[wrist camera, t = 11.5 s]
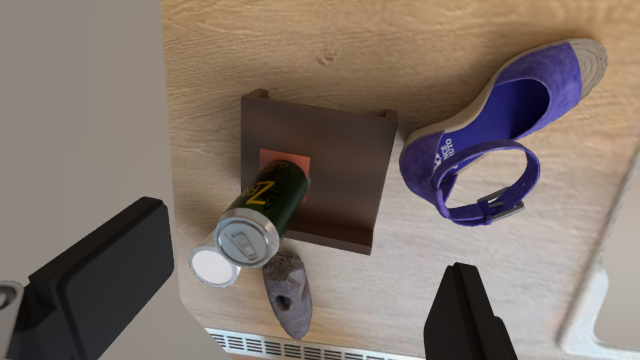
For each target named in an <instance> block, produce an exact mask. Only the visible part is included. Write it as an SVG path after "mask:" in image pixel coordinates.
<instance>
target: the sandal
mask: <svg viewBox="0 0 640 360" xmlns="http://www.w3.org/2000/svg"><path fill="white" fill-rule="evenodd" d="M607 66H608V55H607V51H606V49H605V47H604V46H603V45H602V44H601V43H599V42H597V41H596V40H592V39H588V38H572V39H564V40H559V41H555V42H551V43H547V44H544V45H541V46H537V47H534V48H531V49H529V50H527V51H524V52H522V53H520V54H517V55H516V56H514V57H512V58H511V59H509V60H508V61H507V62H505V63H504V64H503V65H502V66H501V67H500V68H499V69H498V70H497V72H496V73H495V74H494V75H493V76H492V77H491V79H490V80H489V81H488V82H487V84H486V85H485V86H484V88H483V89H482V90H481V91H480V93H479V94H478V95H477V96H476V98H475V99H474V100H473V101H472V102H471V103H470V104H469V105H468V106H466V107H465V108H464V109H463V110H461V111H460V112H458V113H456V114H455V115H453V116H451V117H449V118H447V119H445V120H443V121H440V122H437V123H435V124H429V125H426V126H423V127H421V128H418V129H416V130H414V131H412V132H410V133H409V134H408V136H407V137H406V141H405V144H404V147H403V149H402V152H401V154H400V158H399V167H400V172H401V175H402V177H403V179H404V181H405V183H406V185H407V186H408V188H409V189H410V190H411V191H412V192H413V193H415V194H416V195H418V196H420V197H422V198H424V199H425V200H427V201H429V202H430V203H432V204H433V205H435V207H436V208H437V210H438V211H439V213H440V214H441V215H442V216H443V217H444V218H448V219H450V220H452V221H453V222H454V223H456V224H458V225H462V226H470V227H474V226H479V225H490V224H491V223H492V222H495V221H497V220H500V219H503V218H505V217H508V216H510V215H513V214H515V213H517V212H520V211H522V210H523V209H524V208H525V207H524V203H523V202H522V199H523V198H524V197H525V196H526V195H527V194H528V193H529V192H530V191H531V190H532V188H533V187H534V186H535V184H536V183H537V181H538V179H539V177H540V163H539V160H538V158H537V157H536V156H535V154H534V153H533V152H531V151H530V150H528V149H527V148H526V147H524V146H523V145H522V144H520V143H517V142H515V140H518V139H520V138H522V137H526V136H527V135H529V134H532V133H533V132H535V131H538V130H539V129H541V128H544V127H545V126H547V125H548V124H550V123H551V122H553V121H555V120H557V119H558V118H560V117H562V115H564V114H565V113H567V112H568V111H569V110H571V109H573V107H575V106H576V105H577V104H578V103H579V102H580V101H581V100H582V99H583V98H585V97H586V96H587V95H588V94H589V93H590V92H591V91H592V90H593V89H594V88H595V87H596V86H597V85H598V83H599V82H600V80H601V79H602V77H603V75H604V73H605V70H606V68H607ZM508 149H520V150H523V151H525V153H526V157H527V161H528V162H527V167H526V170H525V172H524V173H523V175H522V176H521V177H520V178H519V179H518V181H517V182H516V183H515V184H513V185H512V186H511V187H505V188H503V189H501V190H499V191H497V192H495V193H492V194H490V195H488V196H485V197H483V198H480V199H478V200H477V203H478V204H477V203H475V204H471V205H466V206H462V207H457V208H451V209H450V208H447V207H446V206H445V202H446V200H447V198H448V197H449V195H450V193H451V190H452V188H453V186H454V184H455V182H456V179H457V177H458V174H460V173H461V172H463V171H464V170H466V169H468V168H469V167H471V166H472V165H474V164H475V163H477V162H478V161H480V160H481V159H483V158H484V157H486V156H487V155H489V154H490V153H492V152H493V151H497V150H508ZM497 197H498V198H497ZM494 198H497V199H496V200H494V201H493V202H491V203H488V202H487V201H489V200H492V199H494ZM514 206H516V207H514ZM513 207H514V208H513Z"/></svg>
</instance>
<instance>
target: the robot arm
mask: <svg viewBox="0 0 640 360" xmlns="http://www.w3.org/2000/svg"><path fill="white" fill-rule="evenodd" d="M173 270H174V259H173V250H172V242H171V234H170V225H169V216H168V209H167V206H166V205H164V203H163V201H162V200H160V199H155V198H151V197H142V198H140V199H139V200H137V201H136V202H134V203H133V204H132V205H130V206H128V207H127V208H126V209H124V210H123V211H121V212H120V213H118V214H117V215H116V216H114V217H113V218H111V219H110V220H108V221H107V222H106V223H104V224H103V225H101V226H100V227H98V228H97V229H96V230H94V231H93V232H92V233H90V234H88V235H87V236H86V237H84V238H83V239H81V240H80V241H78V242H77V243H76V244H74V245H73V246H71V247H70V248H68V249H67V250H66V251H64V252H63V253H61V254H60V255H58V256H57V257H56V258H54V259H53V260H51V261H50V262H49V263H47V264H46V265H44V266H43V267H41V268H40V269H38V270H37V271H36V272H34V273H33V274H31V275H30V276H29V277H28V278H29V281H30V283H29V284H28V285H27V286H25V287H23V286H22V285H21V284H20V283H18V282H15V281H6V280H4V281H0V360H97V359H98V358H99V357H100V356H101V355H102V354H103V353H104V352H105V351H106V350H107V348H108V347H109V346H110V345H111V344H112V343H113V341H114V340H115V339H116V338H117V337H118V336H119V335H120V333H121V332H122V331H123V330H124V329H125V328H126V326H127V325H128V324H129V323H130V322H131V321H132V320H133V318H134V317H135V316H136V315H137V314H138V313H139V312H140V310H141V309H142V308H143V307H144V306H145V305H146V303H147V302H148V301H149V300H150V299H151V298H152V297H153V295H154V294H155V293H156V292H157V291H158V290H159V288H160V287H161V286H162V285H163V284H164V283H165V282H166V280H167V279H168V278H169V277H170V276H171V274H172V272H173ZM424 346H425V355H426V360H518V359H517V356H516V353H515V351H514V348H513V345H512V343H511V340H510V338H509V335H508V332H507V330H506V327H505V325H504V323H503V321H502V319H501V318H500V317H497V316H494V314H493V311H492V308H491V305H490V302H489V300H488V297H487V294H486V291H485V288H484V286H483V283H482V280H481V277H480V274H479V272H478V269H477V267H476V266H473V265H468V264H463V263H459V262H455V263H454V265H453V266H450V265H449V266H447V268H446V270H445V273H444V275H443V278H442V281H441V283H440V286H439V289H438V291H437V294H436V296H435V299H434V302H433V304H432V307H431V310H430V312H429V315H428V318H427V320H426V323H425V326H424Z"/></svg>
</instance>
